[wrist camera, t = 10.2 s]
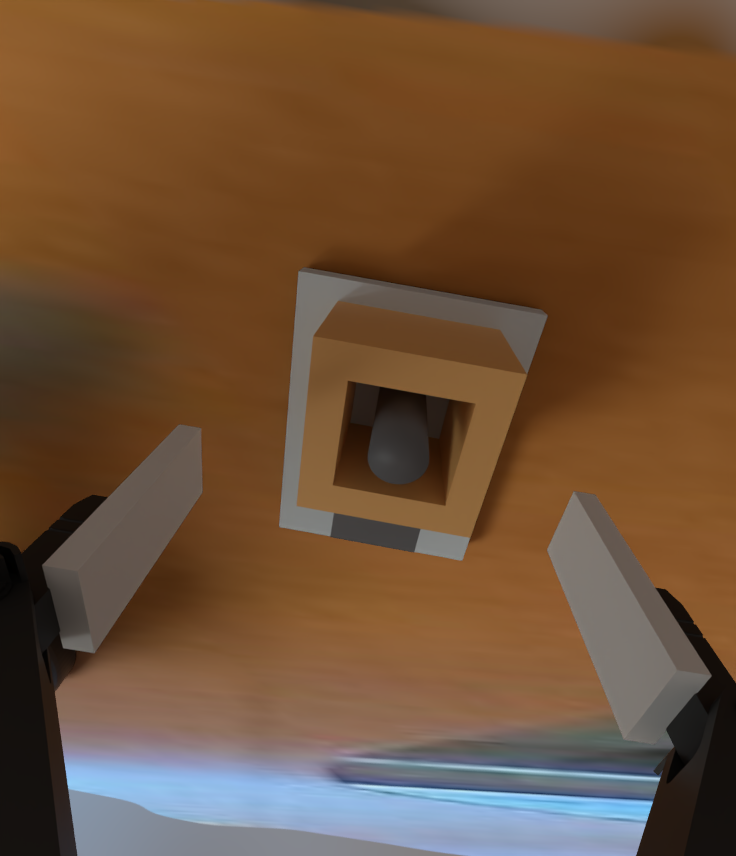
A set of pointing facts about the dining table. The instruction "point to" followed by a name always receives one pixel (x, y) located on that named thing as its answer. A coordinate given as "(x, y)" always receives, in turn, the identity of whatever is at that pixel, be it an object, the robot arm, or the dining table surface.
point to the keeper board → (365, 394)
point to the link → (419, 373)
